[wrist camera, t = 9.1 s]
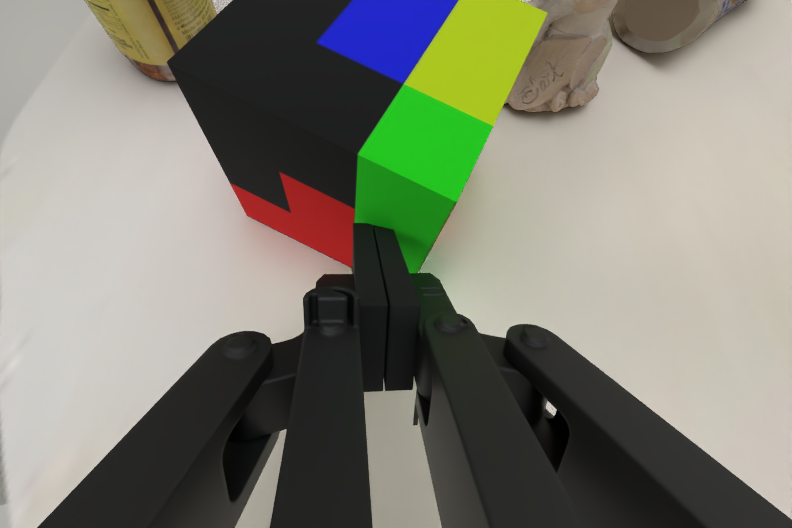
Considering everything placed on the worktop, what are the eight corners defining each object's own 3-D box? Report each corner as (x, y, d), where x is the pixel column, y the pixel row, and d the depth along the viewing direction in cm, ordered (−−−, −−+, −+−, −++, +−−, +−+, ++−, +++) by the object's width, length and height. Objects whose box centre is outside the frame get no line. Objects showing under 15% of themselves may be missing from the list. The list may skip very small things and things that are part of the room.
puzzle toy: (333, 99, 24) (326, -87, 15) (469, 164, 24) (547, 12, 15) (247, 215, 21) (166, 62, 11) (405, 294, 20) (457, 202, 11)
